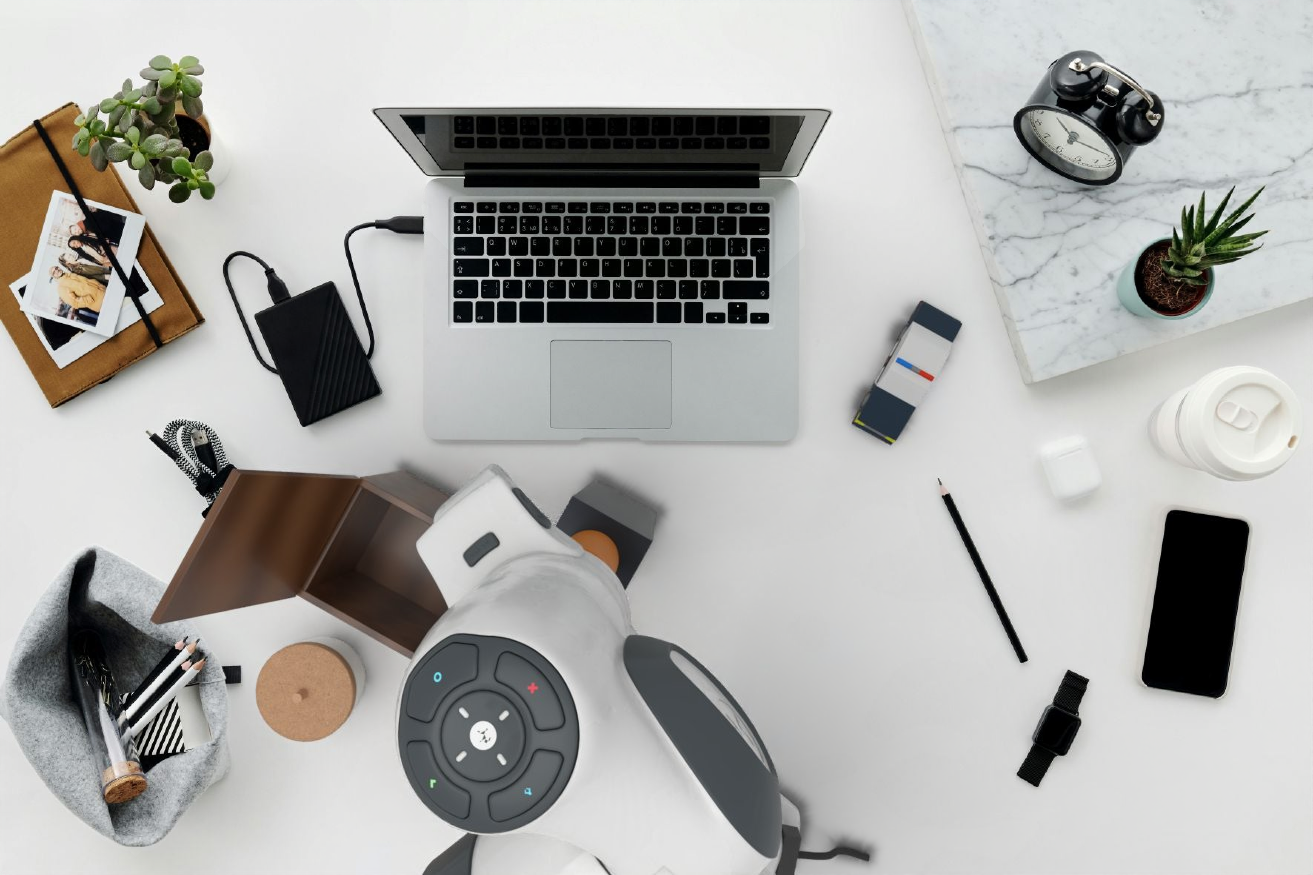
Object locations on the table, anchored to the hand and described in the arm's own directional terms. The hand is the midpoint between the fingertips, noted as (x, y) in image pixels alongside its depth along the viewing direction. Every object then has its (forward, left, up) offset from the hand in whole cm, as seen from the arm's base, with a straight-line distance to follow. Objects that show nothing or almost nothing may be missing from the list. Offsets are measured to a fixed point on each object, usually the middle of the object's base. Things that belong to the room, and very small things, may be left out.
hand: (580, 579), depth 58 cm
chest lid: (+26, +13, -11) cm, 31 cm away
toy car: (-21, -32, -34) cm, 51 cm away
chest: (+16, +13, -34) cm, 40 cm away
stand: (0, 0, -34) cm, 34 cm away
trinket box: (+20, +31, -34) cm, 50 cm away
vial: (0, 0, -10) cm, 10 cm away
